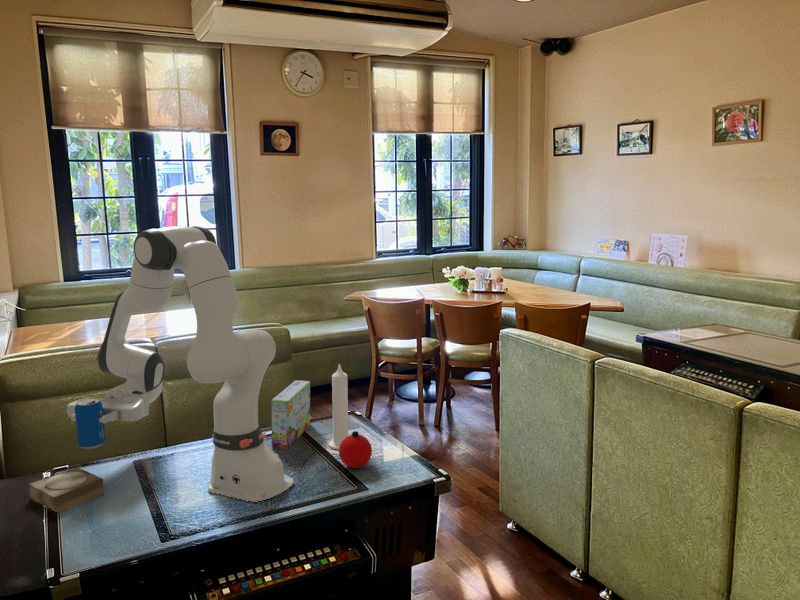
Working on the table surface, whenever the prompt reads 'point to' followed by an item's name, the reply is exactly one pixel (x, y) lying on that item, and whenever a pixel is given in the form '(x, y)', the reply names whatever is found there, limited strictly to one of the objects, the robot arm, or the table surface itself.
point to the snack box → (290, 414)
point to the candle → (339, 408)
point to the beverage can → (89, 423)
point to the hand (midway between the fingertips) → (87, 419)
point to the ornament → (355, 450)
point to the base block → (66, 489)
